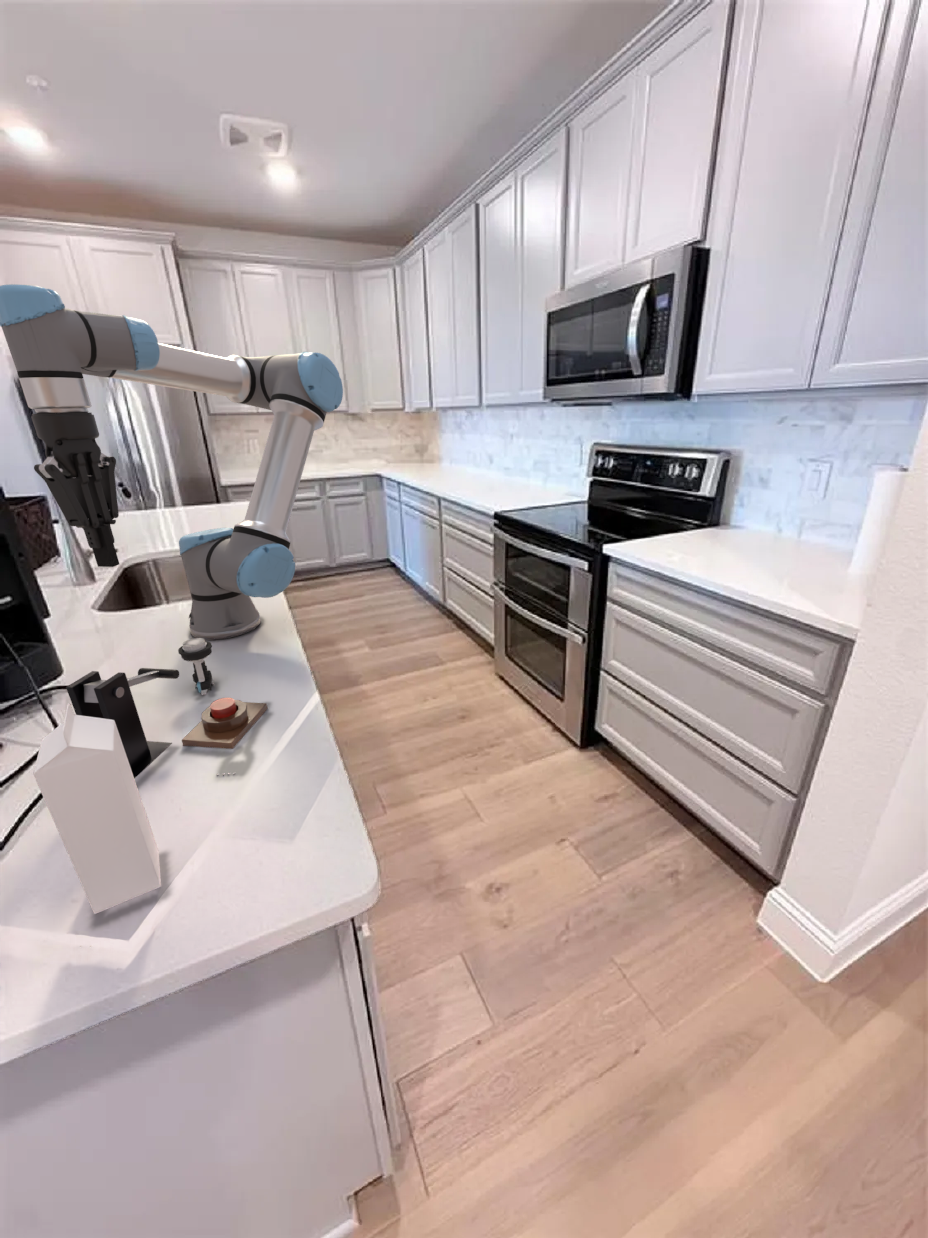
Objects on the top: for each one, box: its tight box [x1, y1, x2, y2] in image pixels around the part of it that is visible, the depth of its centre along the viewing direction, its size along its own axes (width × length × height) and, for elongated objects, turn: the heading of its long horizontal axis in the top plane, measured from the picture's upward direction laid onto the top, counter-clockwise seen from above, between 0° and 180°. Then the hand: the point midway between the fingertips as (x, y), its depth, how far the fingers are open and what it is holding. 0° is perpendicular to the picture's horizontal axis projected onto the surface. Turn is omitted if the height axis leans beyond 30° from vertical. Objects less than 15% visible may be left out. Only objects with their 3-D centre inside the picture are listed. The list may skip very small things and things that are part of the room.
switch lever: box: [83, 667, 180, 703], centre depth 73 cm, size 13×6×2 cm, turn 173°
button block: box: [181, 699, 268, 750], centre depth 80 cm, size 11×8×4 cm
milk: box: [32, 702, 162, 915], centre depth 51 cm, size 6×6×22 cm
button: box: [209, 697, 237, 719], centre depth 80 cm, size 4×4×2 cm
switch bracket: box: [65, 670, 173, 779], centre depth 70 cm, size 10×8×15 cm
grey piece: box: [177, 637, 215, 696], centre depth 91 cm, size 7×5×10 cm
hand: (108, 565), depth 84 cm, fingers closed
